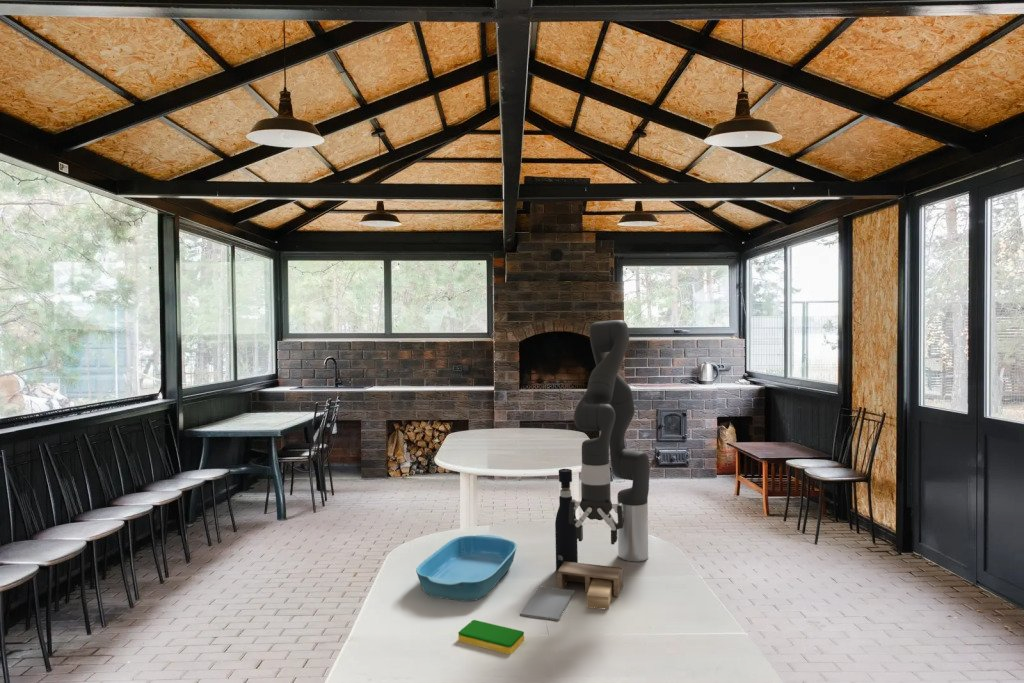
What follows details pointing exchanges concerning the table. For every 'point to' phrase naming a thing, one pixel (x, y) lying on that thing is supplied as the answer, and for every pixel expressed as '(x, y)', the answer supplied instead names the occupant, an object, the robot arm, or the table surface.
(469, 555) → the casserole dish
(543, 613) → the slate mat
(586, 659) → the table surface
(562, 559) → the wine bottle
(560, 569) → the walnut shelf
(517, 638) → the dish sponge
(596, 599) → the oak block
